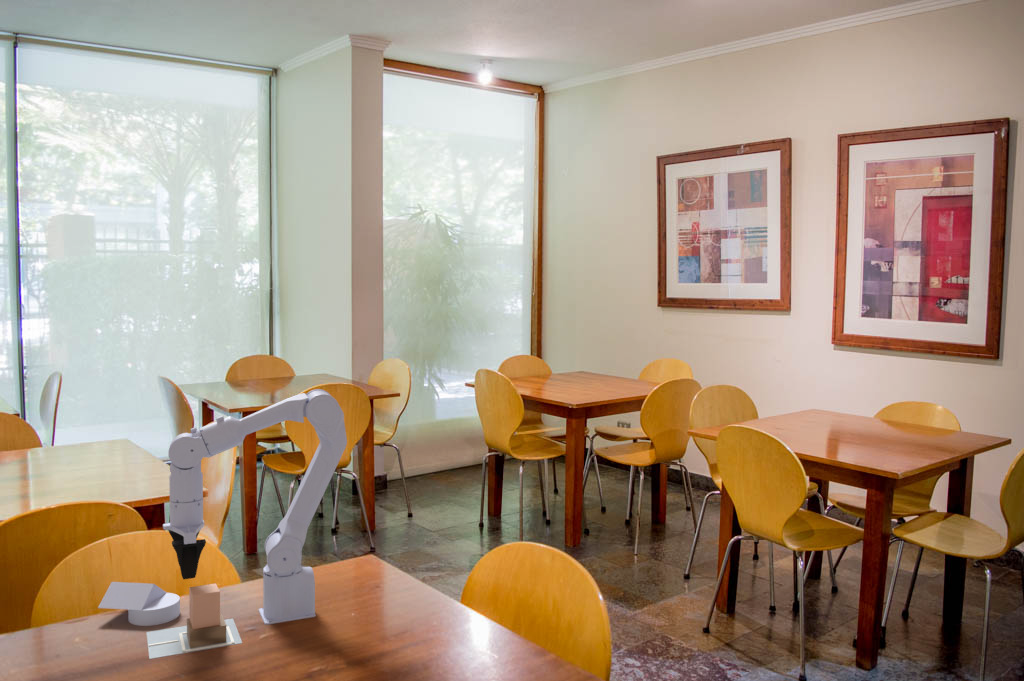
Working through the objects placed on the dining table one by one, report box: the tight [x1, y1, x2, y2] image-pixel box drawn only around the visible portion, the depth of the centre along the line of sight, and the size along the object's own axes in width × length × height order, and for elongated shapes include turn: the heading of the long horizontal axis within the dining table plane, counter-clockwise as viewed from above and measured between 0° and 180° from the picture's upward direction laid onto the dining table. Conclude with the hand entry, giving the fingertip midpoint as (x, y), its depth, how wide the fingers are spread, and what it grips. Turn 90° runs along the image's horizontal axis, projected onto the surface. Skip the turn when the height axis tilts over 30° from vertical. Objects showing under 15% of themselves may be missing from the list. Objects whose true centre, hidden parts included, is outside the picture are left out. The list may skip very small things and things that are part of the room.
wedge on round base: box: [97, 581, 181, 627], centre depth 155 cm, size 9×7×13 cm
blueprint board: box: [145, 618, 243, 660], centre depth 145 cm, size 15×12×1 cm
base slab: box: [186, 613, 226, 648], centre depth 145 cm, size 6×6×3 cm
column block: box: [188, 583, 221, 629], centre depth 144 cm, size 4×4×6 cm
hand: (187, 571), depth 150 cm, fingers open, 7 cm apart
